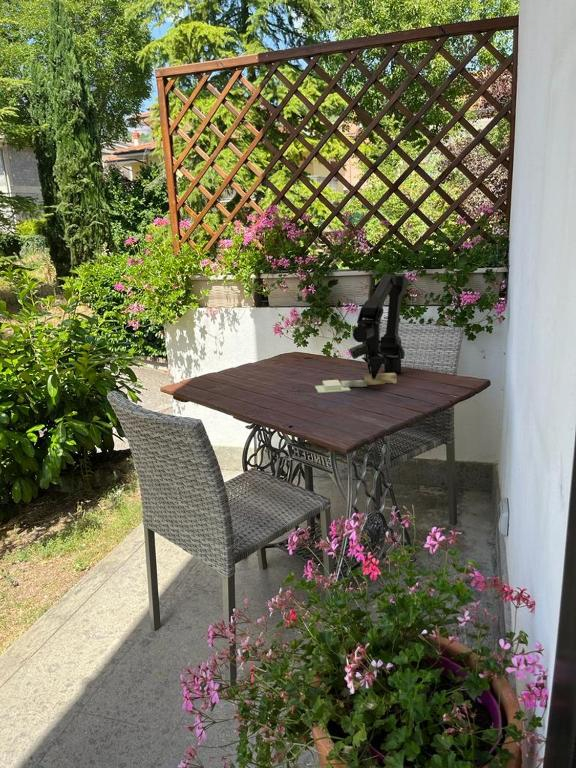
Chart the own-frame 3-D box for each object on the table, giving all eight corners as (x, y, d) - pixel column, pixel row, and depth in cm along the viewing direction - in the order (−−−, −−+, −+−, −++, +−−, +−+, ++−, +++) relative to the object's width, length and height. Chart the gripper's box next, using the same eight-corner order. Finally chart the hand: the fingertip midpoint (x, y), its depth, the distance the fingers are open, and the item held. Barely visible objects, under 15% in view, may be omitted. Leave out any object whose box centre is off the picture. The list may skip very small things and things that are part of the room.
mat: (345, 384, 217) (345, 383, 217) (350, 390, 209) (350, 389, 209) (315, 386, 216) (315, 385, 216) (318, 393, 208) (318, 392, 208)
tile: (337, 379, 217) (341, 385, 210) (337, 383, 218) (341, 389, 210) (322, 380, 217) (325, 386, 209) (322, 384, 217) (325, 390, 210)
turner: (393, 380, 221) (393, 371, 220) (398, 384, 214) (398, 375, 213) (340, 382, 219) (339, 374, 218) (343, 387, 212) (343, 378, 211)
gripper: (345, 334, 220) (346, 373, 224) (356, 343, 202) (356, 385, 206) (374, 332, 221) (374, 371, 225) (386, 341, 203) (386, 383, 207)
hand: (372, 377), depth 216 cm, fingers open, 3 cm apart
